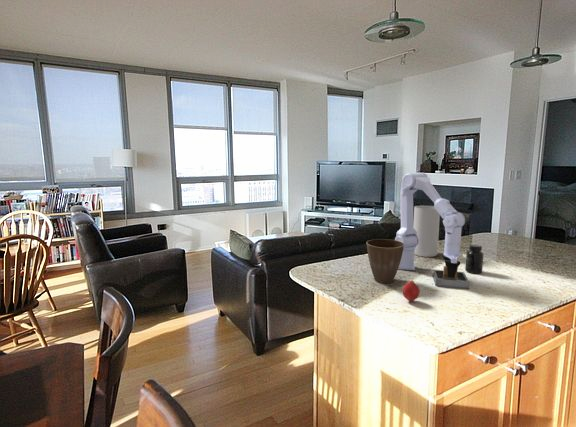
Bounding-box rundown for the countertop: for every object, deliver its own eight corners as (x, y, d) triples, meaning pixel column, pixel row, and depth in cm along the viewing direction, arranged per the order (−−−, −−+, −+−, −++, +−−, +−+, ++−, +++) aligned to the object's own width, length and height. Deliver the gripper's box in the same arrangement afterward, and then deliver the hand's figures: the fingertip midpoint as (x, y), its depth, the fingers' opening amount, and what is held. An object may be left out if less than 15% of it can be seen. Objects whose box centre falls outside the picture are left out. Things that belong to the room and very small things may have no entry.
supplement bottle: (484, 274, 155) (486, 247, 153) (467, 273, 156) (469, 247, 154) (479, 269, 161) (481, 244, 159) (463, 268, 163) (465, 243, 161)
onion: (399, 298, 129) (400, 277, 128) (414, 298, 129) (415, 277, 128) (405, 305, 123) (406, 283, 122) (421, 304, 124) (423, 282, 122)
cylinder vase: (439, 253, 190) (442, 206, 186) (434, 258, 179) (437, 209, 175) (415, 249, 196) (417, 205, 192) (409, 255, 186) (411, 207, 182)
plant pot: (401, 288, 139) (403, 248, 136) (362, 284, 144) (364, 245, 141) (403, 276, 152) (404, 240, 150) (368, 273, 158) (369, 237, 155)
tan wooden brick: (443, 281, 145) (444, 266, 144) (442, 279, 146) (443, 265, 146) (456, 282, 144) (457, 268, 143) (456, 281, 145) (457, 266, 144)
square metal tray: (435, 286, 141) (435, 278, 141) (432, 276, 153) (433, 269, 152) (468, 289, 138) (469, 281, 137) (463, 279, 149) (463, 272, 149)
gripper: (466, 248, 135) (464, 282, 137) (460, 239, 148) (458, 270, 150) (446, 246, 137) (444, 280, 139) (442, 238, 150) (440, 269, 152)
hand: (450, 275), depth 145 cm, fingers open, 4 cm apart
